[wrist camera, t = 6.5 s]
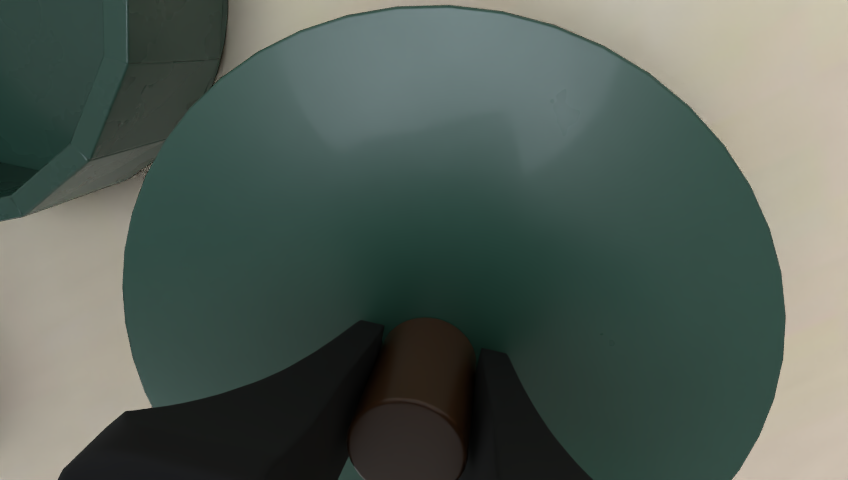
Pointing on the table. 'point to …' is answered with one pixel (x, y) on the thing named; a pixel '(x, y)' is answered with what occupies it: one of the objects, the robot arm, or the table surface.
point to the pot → (96, 90)
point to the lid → (463, 244)
